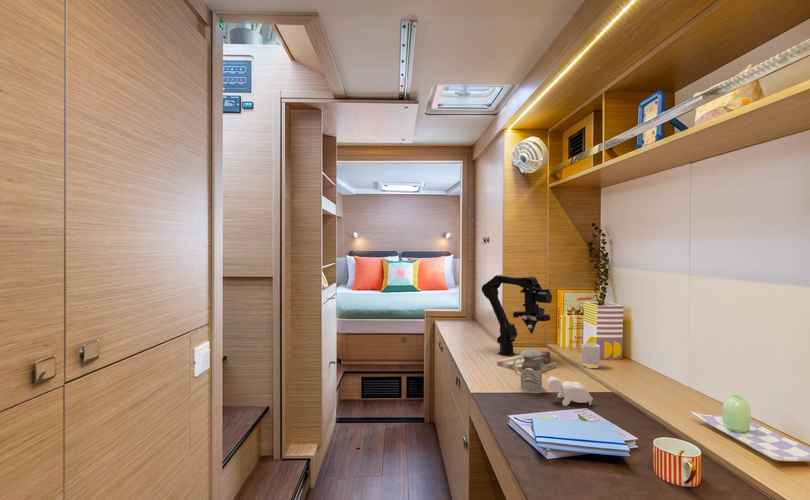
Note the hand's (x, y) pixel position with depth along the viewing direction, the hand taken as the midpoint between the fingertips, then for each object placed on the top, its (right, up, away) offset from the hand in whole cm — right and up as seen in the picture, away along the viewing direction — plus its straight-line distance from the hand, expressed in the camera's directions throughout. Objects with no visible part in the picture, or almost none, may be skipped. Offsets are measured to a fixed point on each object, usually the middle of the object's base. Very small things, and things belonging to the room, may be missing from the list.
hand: (531, 333), depth 196 cm
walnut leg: (-2, -10, -16) cm, 20 cm away
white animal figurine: (-5, -13, -57) cm, 59 cm away
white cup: (+23, -12, -15) cm, 30 cm away
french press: (-15, -13, -43) cm, 47 cm away
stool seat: (-6, -13, -12) cm, 19 cm away
